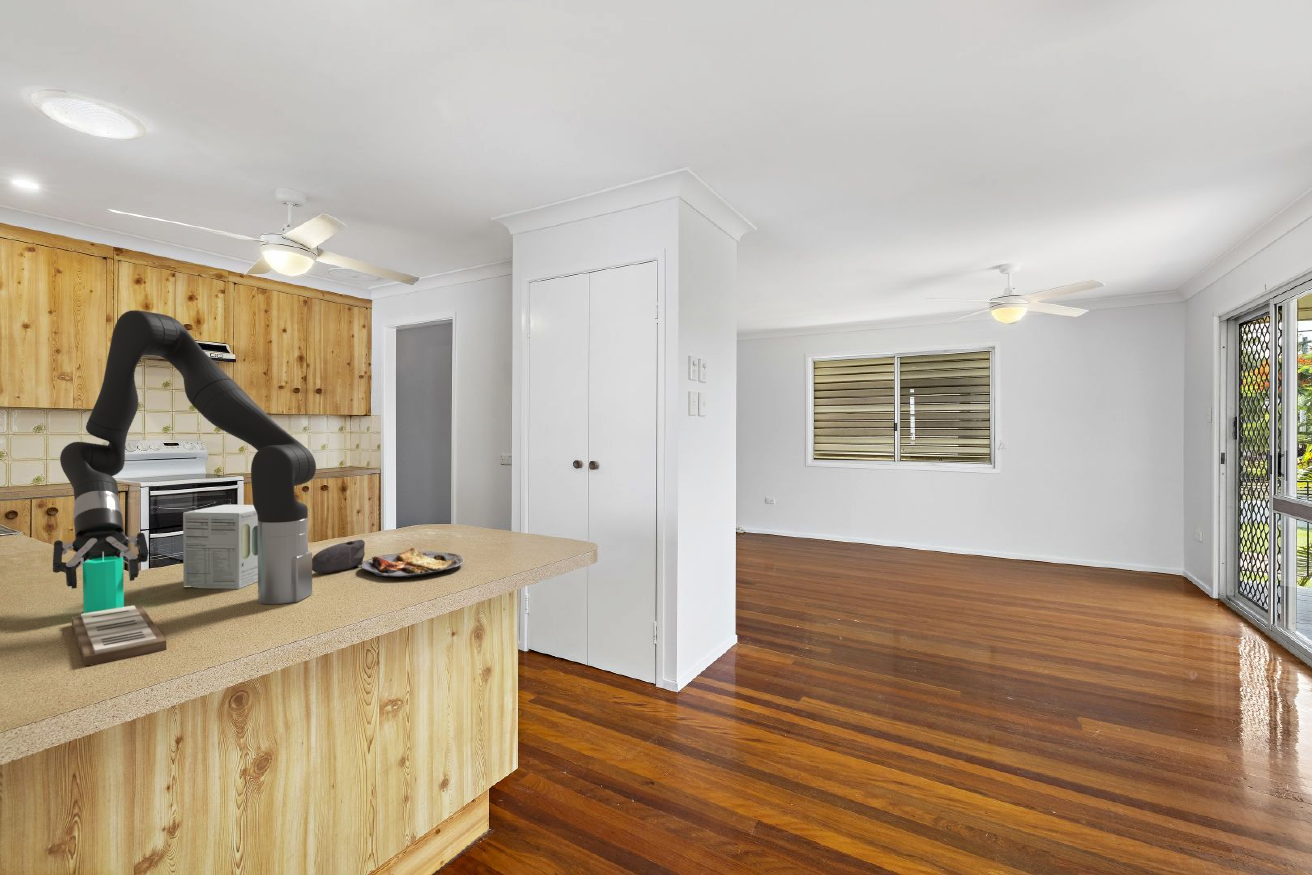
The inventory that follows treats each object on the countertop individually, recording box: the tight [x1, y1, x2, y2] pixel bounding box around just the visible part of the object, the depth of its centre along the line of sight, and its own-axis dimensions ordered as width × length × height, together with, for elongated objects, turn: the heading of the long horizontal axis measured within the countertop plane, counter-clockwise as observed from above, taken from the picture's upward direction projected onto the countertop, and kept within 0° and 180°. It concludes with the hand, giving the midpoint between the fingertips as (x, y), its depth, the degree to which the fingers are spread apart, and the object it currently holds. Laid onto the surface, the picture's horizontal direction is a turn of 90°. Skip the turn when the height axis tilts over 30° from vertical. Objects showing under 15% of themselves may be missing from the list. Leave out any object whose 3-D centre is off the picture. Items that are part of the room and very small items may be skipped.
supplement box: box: [182, 504, 258, 590], centre depth 145 cm, size 13×13×18 cm
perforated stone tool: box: [312, 539, 366, 574], centre depth 156 cm, size 15×5×7 cm, turn 149°
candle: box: [82, 552, 125, 614], centre depth 121 cm, size 6×6×12 cm
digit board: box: [71, 605, 168, 667], centre depth 108 cm, size 27×10×2 cm, turn 47°
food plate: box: [359, 547, 465, 578], centre depth 159 cm, size 25×23×4 cm
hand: (104, 582), depth 120 cm, fingers open, 8 cm apart
